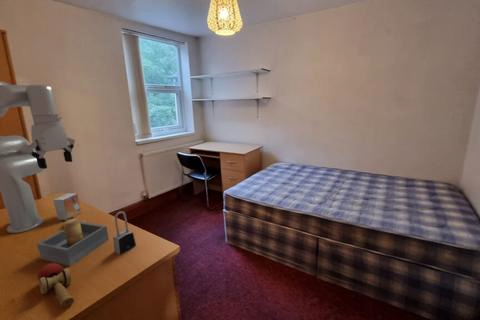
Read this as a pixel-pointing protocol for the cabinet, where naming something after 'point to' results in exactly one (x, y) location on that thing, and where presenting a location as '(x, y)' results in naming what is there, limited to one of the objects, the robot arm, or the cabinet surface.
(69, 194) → the small box
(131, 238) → the padlock
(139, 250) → the cabinet surface
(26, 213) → the robot arm
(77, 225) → the peg
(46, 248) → the peg box
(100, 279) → the cabinet surface
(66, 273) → the kendama
